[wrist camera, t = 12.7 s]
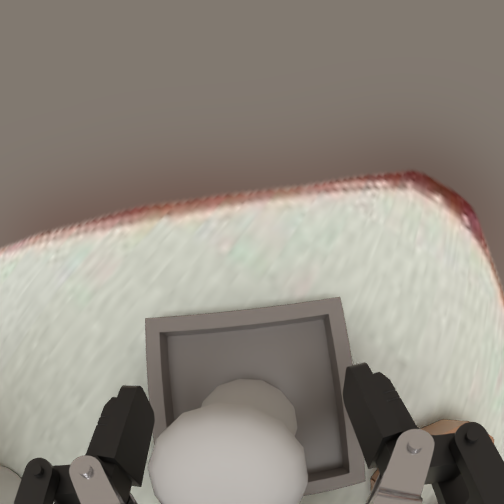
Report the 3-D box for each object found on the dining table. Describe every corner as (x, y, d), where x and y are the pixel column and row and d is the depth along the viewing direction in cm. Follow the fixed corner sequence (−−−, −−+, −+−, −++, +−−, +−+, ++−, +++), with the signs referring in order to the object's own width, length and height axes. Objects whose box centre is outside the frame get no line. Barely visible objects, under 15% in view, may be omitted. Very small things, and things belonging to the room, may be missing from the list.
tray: (174, 489, 15) (164, 500, 13) (157, 325, 20) (145, 318, 18) (354, 471, 15) (365, 481, 13) (331, 306, 21) (340, 296, 18)
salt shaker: (246, 361, 19) (218, 325, 7) (310, 415, 17) (392, 463, 5) (187, 420, 17) (76, 463, 5) (250, 474, 15) (232, 590, 3)
